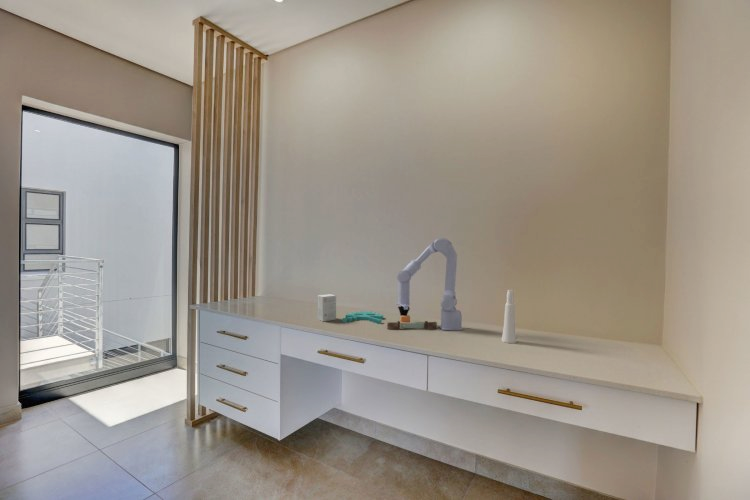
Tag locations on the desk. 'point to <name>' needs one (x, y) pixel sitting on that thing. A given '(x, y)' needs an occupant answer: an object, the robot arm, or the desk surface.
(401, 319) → the doorstop wedge
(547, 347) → the desk surface
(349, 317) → the alien figure
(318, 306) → the small box
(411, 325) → the grey rod
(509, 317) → the cosmetic bottle
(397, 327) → the frame
